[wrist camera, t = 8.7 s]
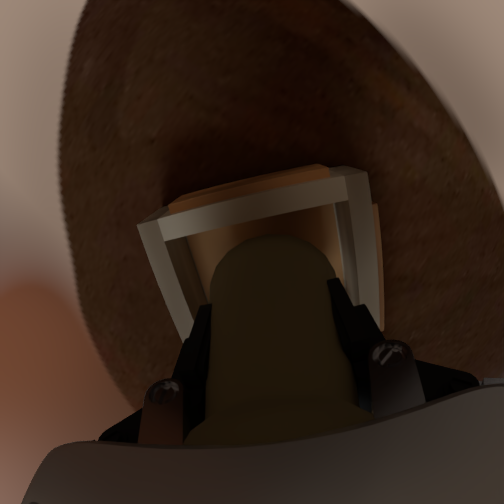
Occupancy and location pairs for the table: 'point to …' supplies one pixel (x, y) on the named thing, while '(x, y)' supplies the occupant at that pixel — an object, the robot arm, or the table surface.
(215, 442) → the cork
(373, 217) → the spice rack
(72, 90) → the table surface
